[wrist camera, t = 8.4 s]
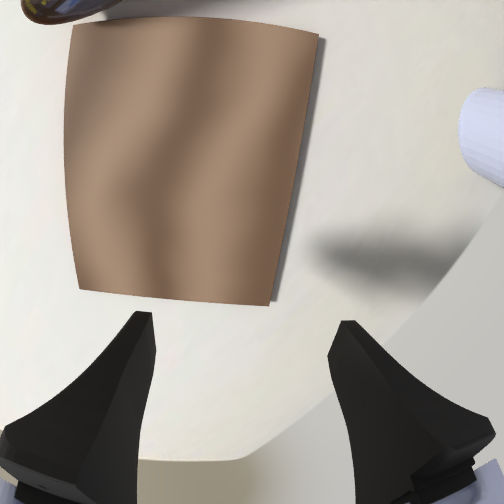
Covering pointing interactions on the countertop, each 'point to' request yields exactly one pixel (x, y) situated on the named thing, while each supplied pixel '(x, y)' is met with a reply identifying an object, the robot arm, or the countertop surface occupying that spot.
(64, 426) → the robot arm
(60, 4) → the tin
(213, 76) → the board
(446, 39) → the countertop surface
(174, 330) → the countertop surface
